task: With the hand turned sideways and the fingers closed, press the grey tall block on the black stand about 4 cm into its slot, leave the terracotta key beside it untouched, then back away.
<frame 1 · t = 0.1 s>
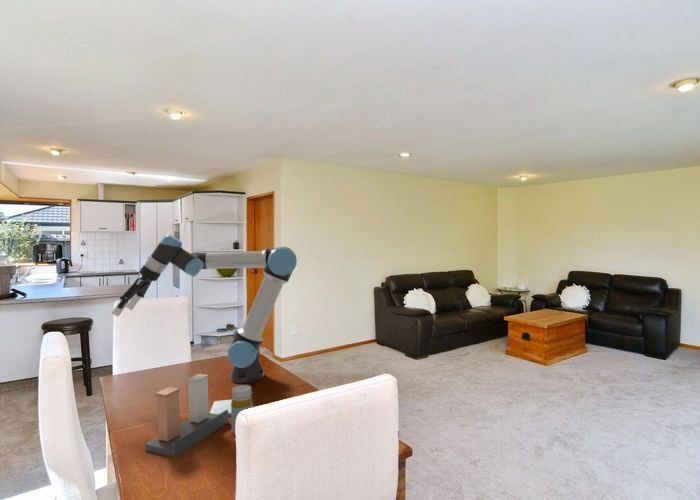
hand: (122, 311, 161), 36 cm above the table, tool tilted 35°, fingers open, 13 cm apart
grey tall block: (198, 397, 136), point 10 cm above the table, slide at 0.0 cm
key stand: (189, 435, 130), on the table
terracotta key: (168, 413, 124), point 10 cm above the table, slide at 0.0 cm
bottle: (242, 432, 131), on the table
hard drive: (222, 411, 149), on the table
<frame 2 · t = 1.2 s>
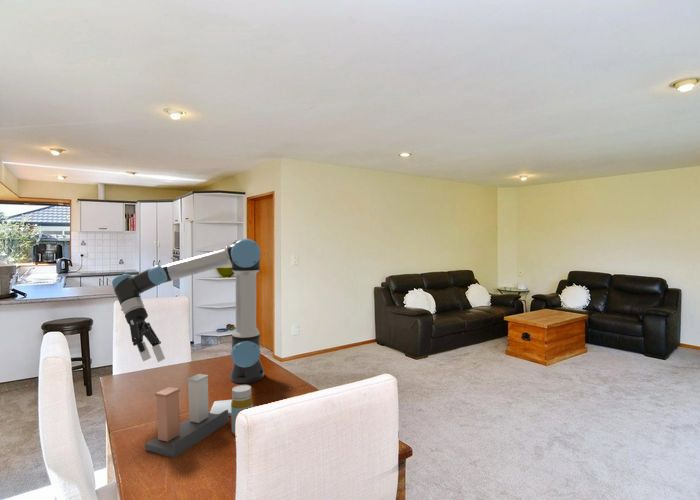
hand: (154, 360, 150), 19 cm above the table, tool tilted 30°, fingers open, 13 cm apart
nothing on the table moved.
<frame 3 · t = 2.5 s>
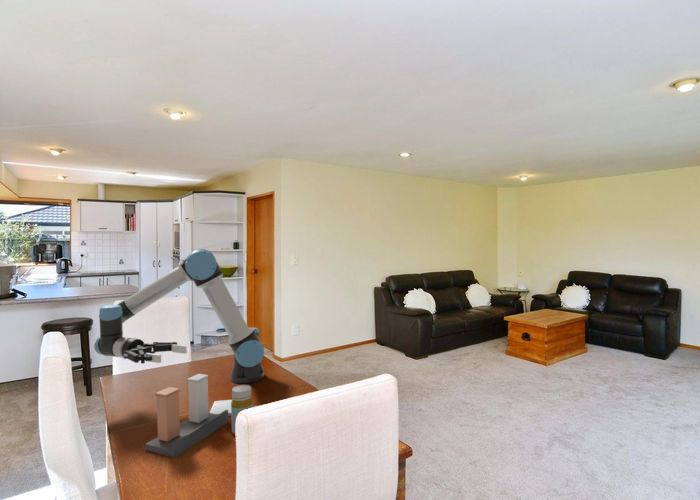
hand: (173, 354, 140), 24 cm above the table, tool horizontal, fingers open, 11 cm apart
nothing on the table moved.
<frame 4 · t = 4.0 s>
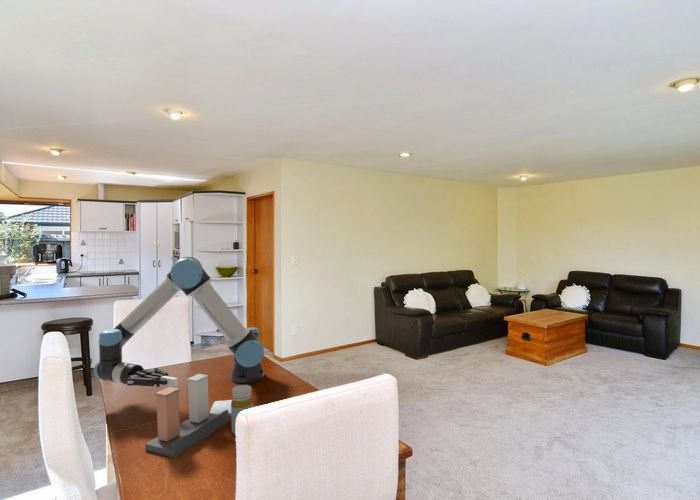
hand: (175, 382, 140), 14 cm above the table, tool horizontal, fingers closed
nothing on the table moved.
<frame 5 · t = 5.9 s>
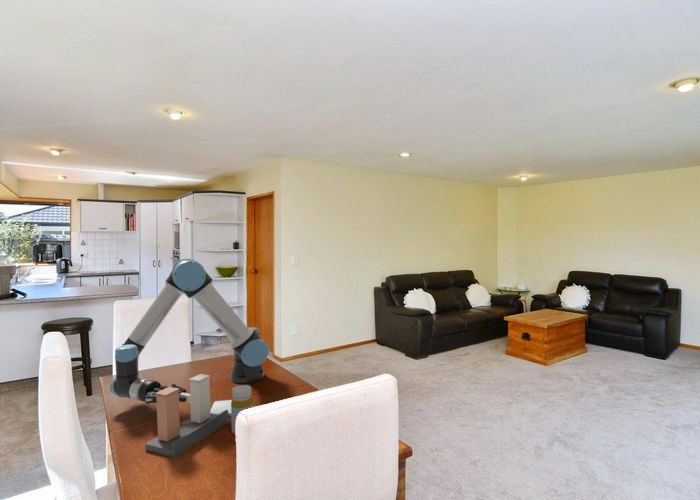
hand: (195, 399, 137), 9 cm above the table, tool horizontal, fingers closed
grey tall block: (200, 398, 136), point 10 cm above the table, slide at 0.8 cm, touching gripper
everything else where it was.
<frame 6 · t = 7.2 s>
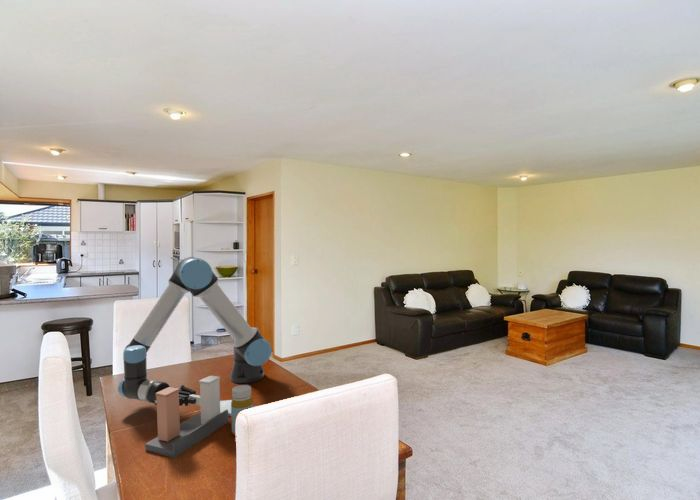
hand: (204, 401, 135), 9 cm above the table, tool horizontal, fingers closed
grey tall block: (210, 400, 135), point 10 cm above the table, slide at 5.2 cm, touching gripper
everything else where it was.
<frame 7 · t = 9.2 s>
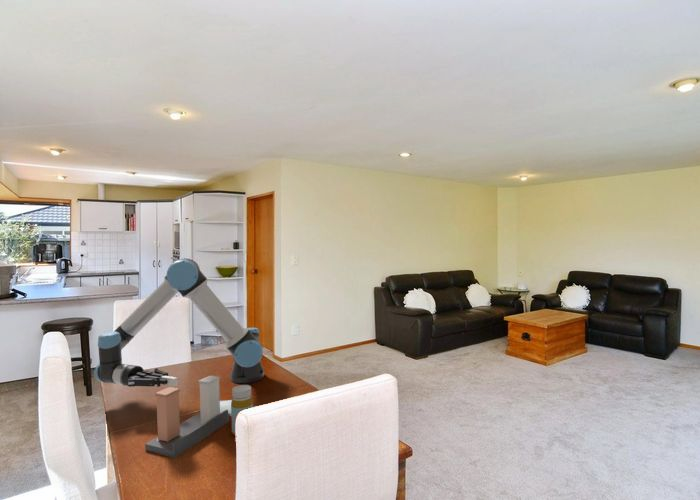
hand: (176, 381, 142), 14 cm above the table, tool horizontal, fingers closed
grey tall block: (209, 400, 135), point 10 cm above the table, slide at 5.0 cm
everything else where it was.
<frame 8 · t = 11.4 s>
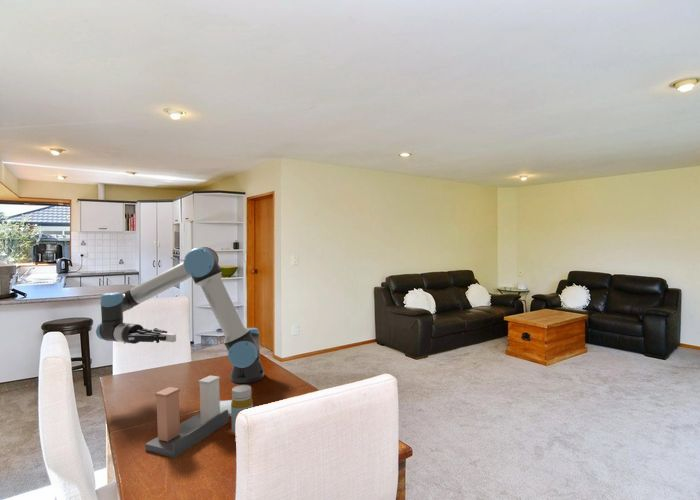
hand: (174, 338, 147), 28 cm above the table, tool horizontal, fingers closed
nothing on the table moved.
at the end: grey tall block slide at 5.0 cm; terracotta key slide at 0.0 cm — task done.
